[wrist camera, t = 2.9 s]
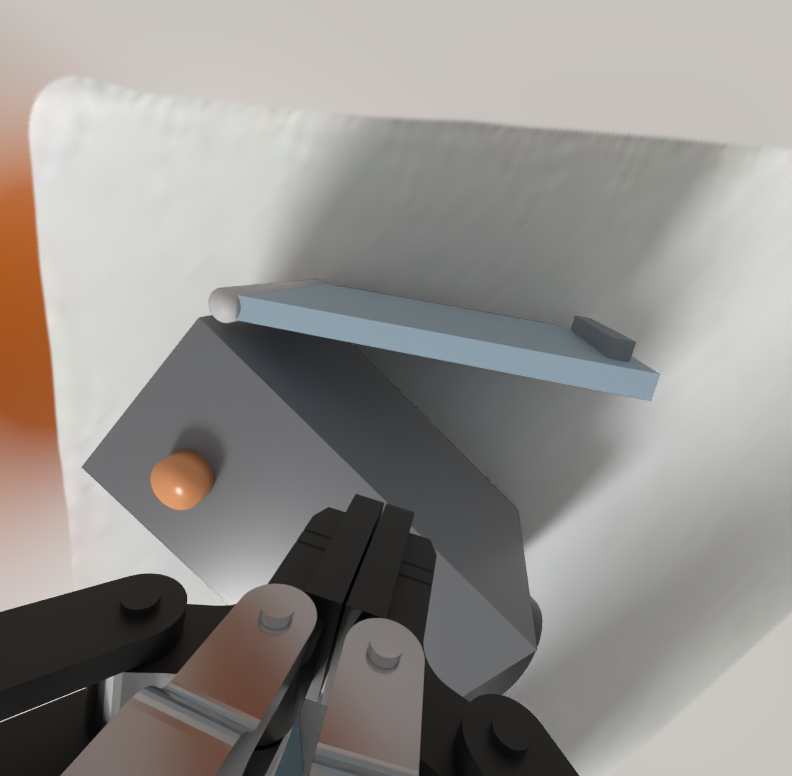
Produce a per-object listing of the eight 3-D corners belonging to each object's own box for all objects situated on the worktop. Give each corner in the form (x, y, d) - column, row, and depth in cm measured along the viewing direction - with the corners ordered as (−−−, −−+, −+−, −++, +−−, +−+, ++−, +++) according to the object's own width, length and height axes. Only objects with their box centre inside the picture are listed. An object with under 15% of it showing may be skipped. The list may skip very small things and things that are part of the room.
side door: (594, 317, 27) (666, 352, 16) (585, 351, 27) (649, 406, 17) (309, 267, 29) (209, 269, 18) (306, 299, 29) (207, 319, 19)
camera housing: (548, 540, 32) (589, 717, 19) (443, 615, 35) (420, 810, 22) (306, 297, 30) (183, 320, 18) (219, 397, 33) (63, 476, 21)
